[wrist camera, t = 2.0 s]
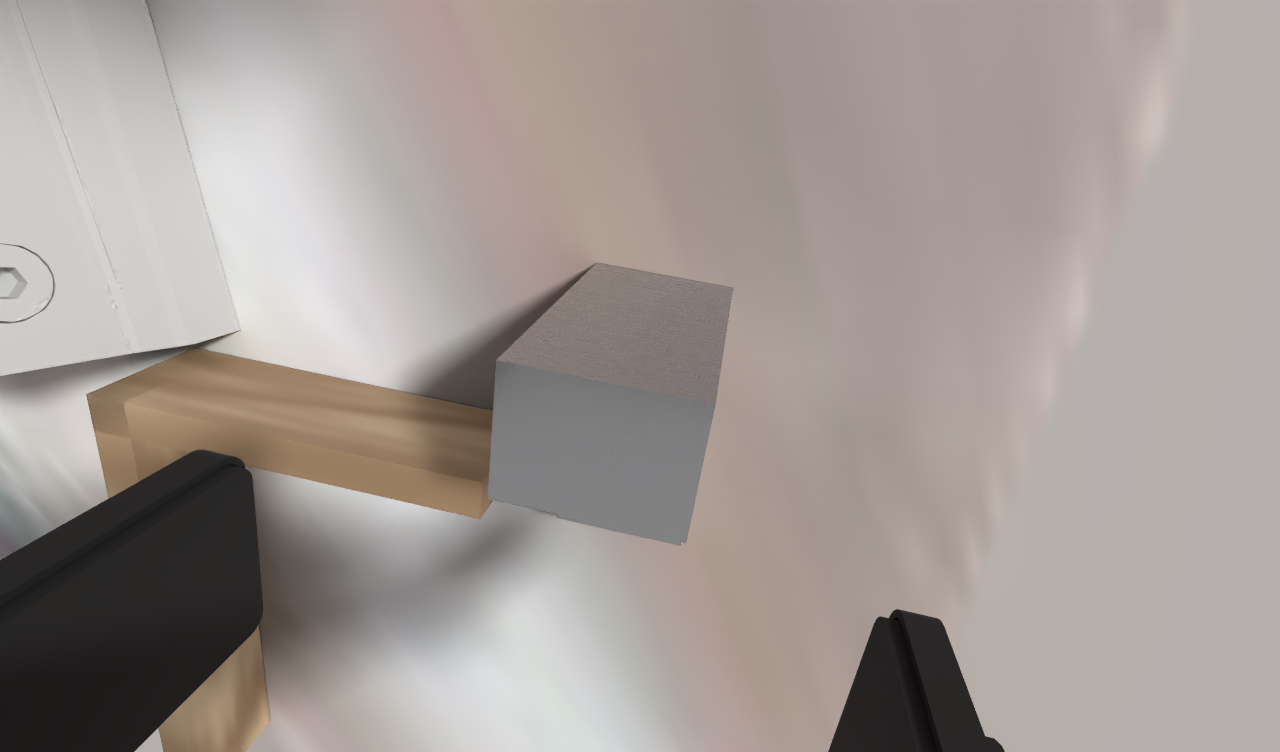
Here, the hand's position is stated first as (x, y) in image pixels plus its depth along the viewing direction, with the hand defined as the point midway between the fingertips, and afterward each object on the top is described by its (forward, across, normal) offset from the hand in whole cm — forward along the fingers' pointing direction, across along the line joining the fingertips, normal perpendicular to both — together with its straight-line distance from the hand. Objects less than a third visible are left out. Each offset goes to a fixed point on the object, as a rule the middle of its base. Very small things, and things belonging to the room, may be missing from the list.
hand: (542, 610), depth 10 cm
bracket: (+11, 0, +1) cm, 11 cm away
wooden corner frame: (+12, +10, +12) cm, 19 cm away
